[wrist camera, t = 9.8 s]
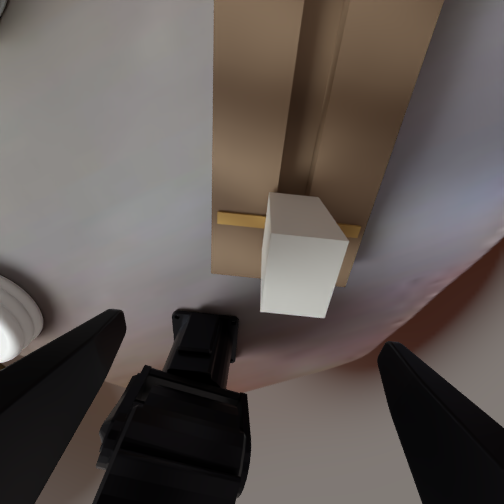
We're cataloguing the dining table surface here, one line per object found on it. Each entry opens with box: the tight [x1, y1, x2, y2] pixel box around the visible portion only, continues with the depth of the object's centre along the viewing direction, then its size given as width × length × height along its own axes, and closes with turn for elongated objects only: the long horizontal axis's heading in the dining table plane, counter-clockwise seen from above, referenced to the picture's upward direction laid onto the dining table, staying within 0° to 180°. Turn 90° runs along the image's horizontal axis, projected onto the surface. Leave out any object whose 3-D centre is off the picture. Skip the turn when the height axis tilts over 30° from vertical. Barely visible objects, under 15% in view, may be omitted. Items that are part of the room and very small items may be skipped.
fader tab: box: [260, 192, 349, 318], centre depth 13 cm, size 4×3×8 cm
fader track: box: [211, 0, 444, 287], centre depth 14 cm, size 21×10×3 cm, turn 175°
